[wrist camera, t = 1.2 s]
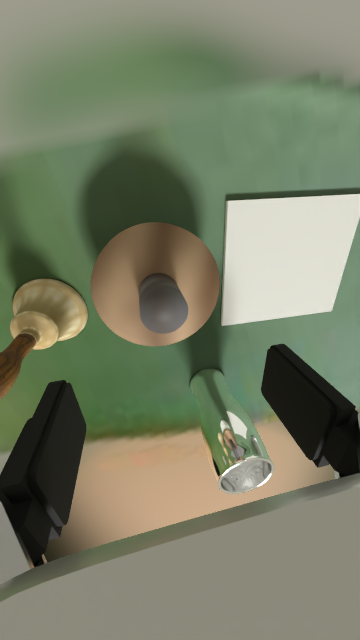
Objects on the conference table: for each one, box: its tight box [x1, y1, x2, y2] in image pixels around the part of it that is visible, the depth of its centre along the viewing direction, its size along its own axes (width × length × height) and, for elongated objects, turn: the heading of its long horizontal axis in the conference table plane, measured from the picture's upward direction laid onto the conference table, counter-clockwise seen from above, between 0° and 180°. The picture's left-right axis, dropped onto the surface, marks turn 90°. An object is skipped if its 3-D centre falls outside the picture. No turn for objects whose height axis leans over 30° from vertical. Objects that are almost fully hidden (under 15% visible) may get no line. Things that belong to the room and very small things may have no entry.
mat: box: [221, 194, 360, 326], centre depth 30 cm, size 18×16×1 cm
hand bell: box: [0, 279, 88, 399], centre depth 20 cm, size 8×8×16 cm
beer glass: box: [190, 368, 274, 494], centre depth 30 cm, size 7×7×15 cm
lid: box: [91, 222, 220, 346], centre depth 20 cm, size 13×13×6 cm
